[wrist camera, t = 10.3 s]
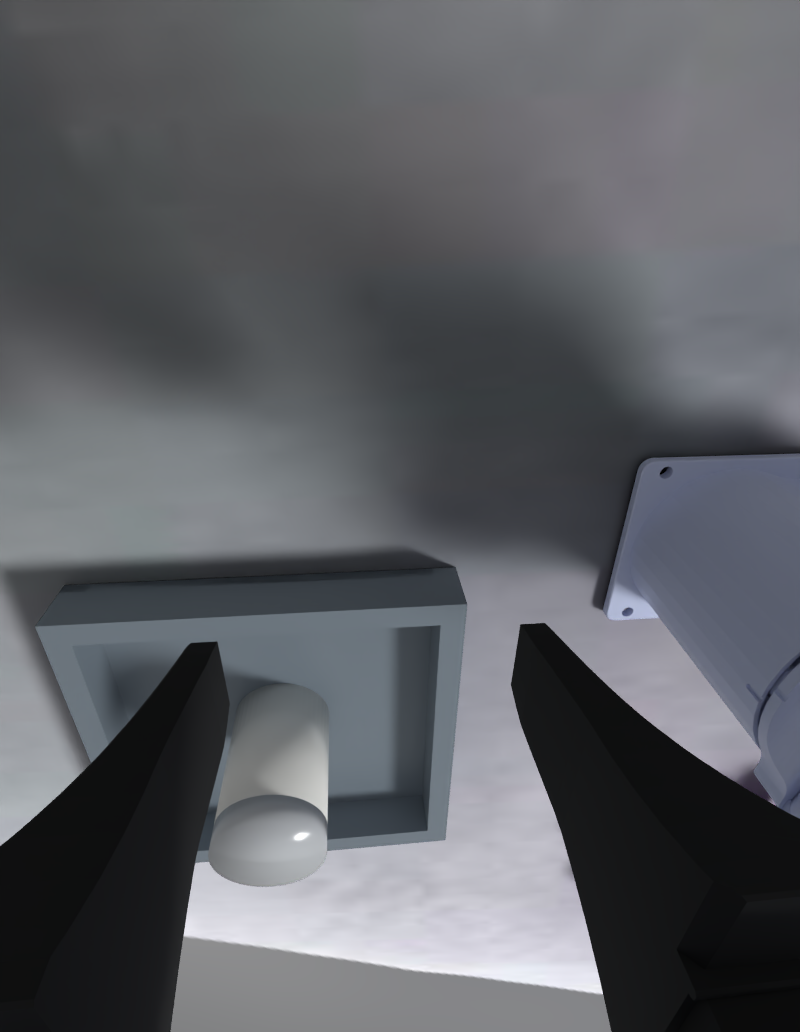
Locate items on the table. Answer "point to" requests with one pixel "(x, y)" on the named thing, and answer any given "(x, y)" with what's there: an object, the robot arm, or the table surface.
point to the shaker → (274, 789)
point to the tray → (290, 676)
